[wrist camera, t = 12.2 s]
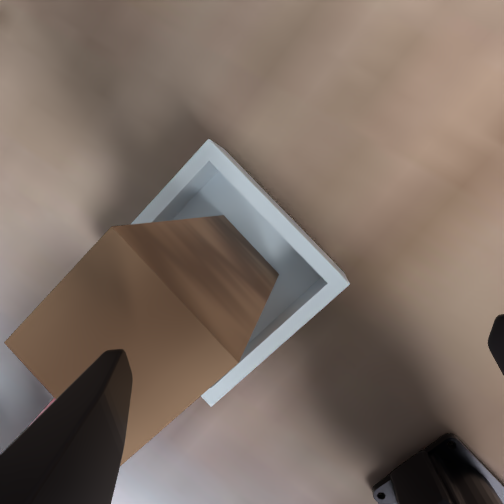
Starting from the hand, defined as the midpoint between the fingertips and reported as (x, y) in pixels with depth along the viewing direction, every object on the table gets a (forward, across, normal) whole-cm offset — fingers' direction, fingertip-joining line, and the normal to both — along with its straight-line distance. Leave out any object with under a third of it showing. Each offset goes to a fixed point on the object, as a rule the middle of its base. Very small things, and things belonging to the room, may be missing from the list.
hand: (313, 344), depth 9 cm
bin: (+14, +3, +6) cm, 15 cm away
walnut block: (+13, +3, +6) cm, 15 cm away
